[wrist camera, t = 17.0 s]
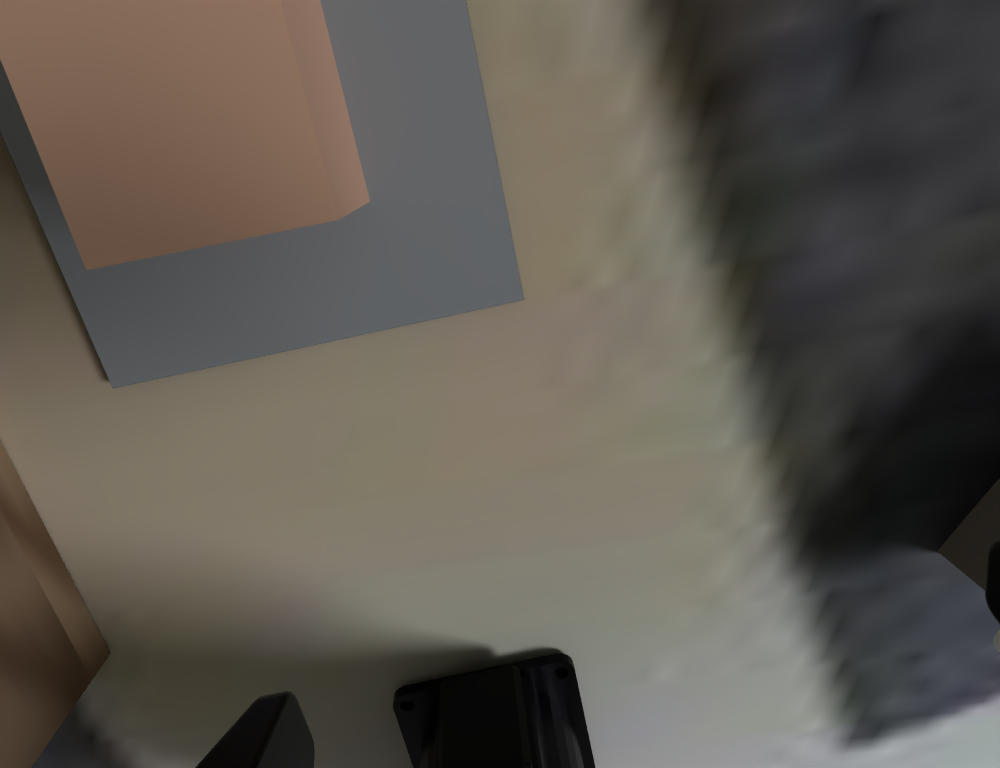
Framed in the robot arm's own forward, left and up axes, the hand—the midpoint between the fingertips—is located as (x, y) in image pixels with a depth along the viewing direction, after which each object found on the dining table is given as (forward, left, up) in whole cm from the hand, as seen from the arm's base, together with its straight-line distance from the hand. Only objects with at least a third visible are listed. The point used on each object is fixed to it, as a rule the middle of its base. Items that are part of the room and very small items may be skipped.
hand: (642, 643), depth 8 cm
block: (+8, +6, -12) cm, 15 cm away
